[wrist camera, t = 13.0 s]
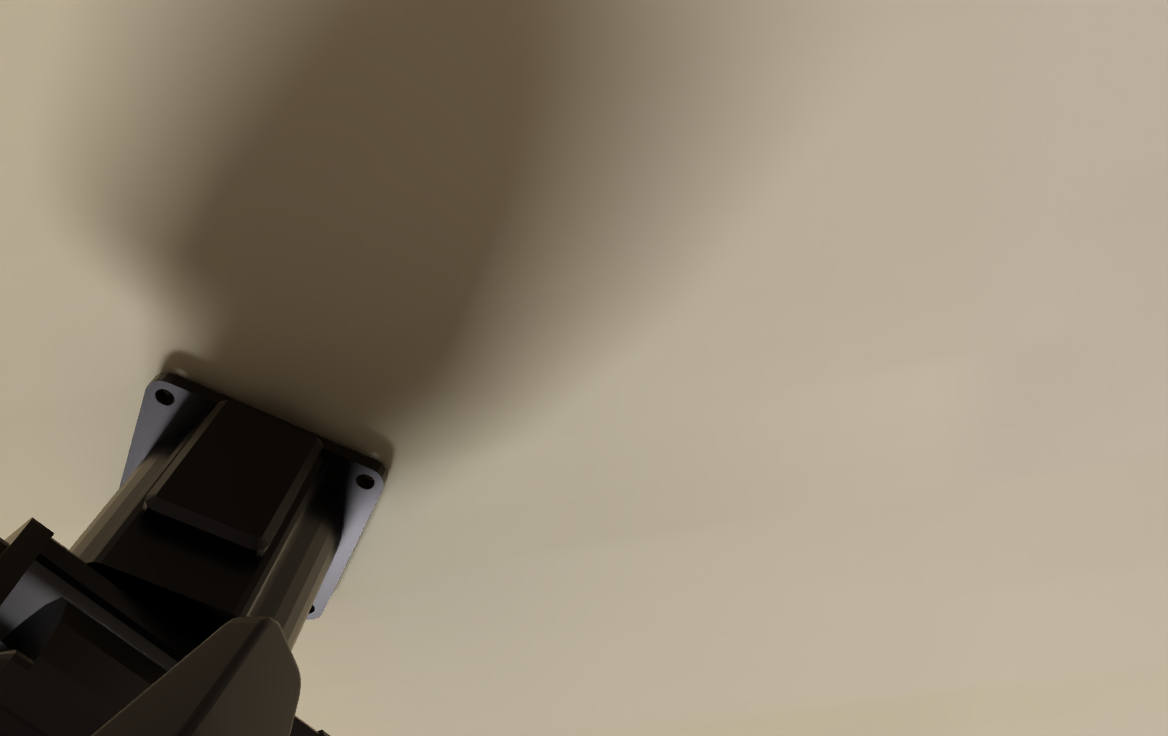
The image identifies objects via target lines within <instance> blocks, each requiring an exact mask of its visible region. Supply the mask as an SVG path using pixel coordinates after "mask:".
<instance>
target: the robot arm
mask: <svg viewBox="0 0 1168 736" xmlns="http://www.w3.org/2000/svg"><path fill="white" fill-rule="evenodd" d="M163 389H165V390H168V391H169V392H171V393H172V394H173V396H174V397H172V396H169V395H168V394H166V393H165V392H164V390H163ZM362 474H365V475H369V476H370V477H372V478H373V480H368V479H366V478H364V477H363V476H362ZM387 476H388V474H387V471H386V468H385V467H384V466H383V465H382V463H380V462H378V461H377V460H375V459H373V458H370V457H368V456H366V455H363V454H361V453H359V452H356V451H354V450H351V449H349V448H347V447H344V446H342V445H340V444H337V443H335V442H333V441H330V440H328V439H326V438H323V437H321V436H319V435H316V434H314V433H312V432H309V431H307V430H305V429H302V428H300V427H298V426H295V425H293V424H291V423H288V422H286V421H284V420H281V419H279V418H277V417H274V416H272V415H270V414H267V413H265V412H263V411H260V410H258V409H255V408H253V407H251V406H248V405H246V404H244V403H241V402H239V401H237V400H234V399H232V398H230V397H227V396H225V395H223V394H220V393H218V392H216V391H213V390H211V389H209V388H206V387H204V386H202V385H199V384H197V383H195V382H192V381H190V380H188V379H185V378H183V377H181V376H178V375H176V374H172V373H161V374H159V375H157V376H156V377H155V378H154V379H153V380H152V381H151V382H150V384H149V385H148V386H147V388H146V390H145V394H144V398H143V402H142V405H141V409H140V413H139V416H138V420H137V424H136V428H135V431H134V435H133V439H132V443H131V446H130V450H129V454H128V458H127V461H126V465H125V469H124V473H123V476H122V480H121V484H120V488H119V490H118V491H117V492H116V493H115V495H114V496H113V497H112V498H111V500H110V501H109V502H108V503H107V504H106V506H105V507H104V508H103V509H102V511H101V512H100V513H99V514H98V515H97V517H96V518H95V519H94V520H93V522H92V523H91V524H90V525H89V526H88V528H87V529H86V530H85V531H84V532H83V534H82V535H81V536H80V537H79V539H78V540H77V541H76V542H75V543H74V545H73V546H72V547H71V548H70V550H68V549H67V548H65V547H64V546H62V545H61V544H60V543H58V542H57V541H56V540H54V539H53V538H52V536H53V534H54V533H53V532H52V531H50V530H49V529H47V528H46V527H45V526H43V525H42V524H41V523H39V522H38V521H37V520H35V519H34V518H31V519H29V520H28V521H27V522H26V523H25V524H23V525H22V526H21V527H20V528H19V529H17V530H16V531H15V532H14V533H13V534H11V535H10V536H9V537H8V538H7V539H5V540H3V539H2V538H0V736H330V735H328V734H327V733H326V732H324V731H323V730H320V731H316V730H314V729H313V728H312V727H310V726H309V725H308V724H306V723H305V722H304V721H302V720H301V719H299V718H298V717H297V716H295V712H296V708H297V704H298V700H299V695H300V688H301V678H300V672H299V669H298V666H297V664H296V661H295V659H294V657H293V654H292V652H291V651H292V648H293V646H294V644H295V642H296V640H297V637H298V635H299V633H300V631H301V629H302V626H303V624H304V622H305V620H306V619H316V618H318V617H320V616H321V615H322V613H323V611H324V609H325V607H326V605H327V603H328V601H329V599H330V597H331V595H332V593H333V591H334V588H335V586H336V584H337V582H338V580H339V578H340V576H341V574H342V572H343V570H344V568H345V566H346V564H347V562H348V560H349V558H350V555H351V553H352V551H353V549H354V547H355V545H356V543H357V541H358V539H359V537H360V535H361V533H362V531H363V529H364V527H365V525H366V523H367V520H368V518H369V516H370V514H371V512H372V510H373V508H374V506H375V504H376V502H377V500H378V498H379V496H380V494H381V492H382V490H383V487H384V485H385V483H386V480H387Z"/></svg>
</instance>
